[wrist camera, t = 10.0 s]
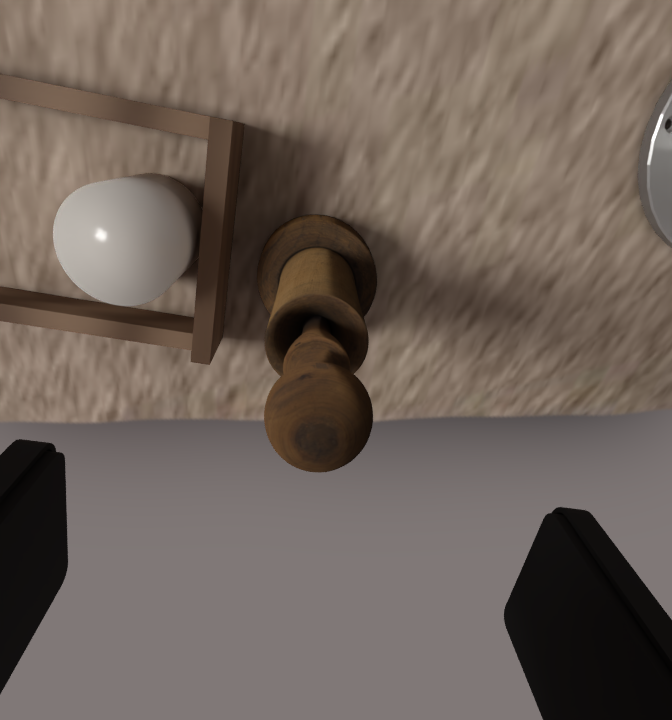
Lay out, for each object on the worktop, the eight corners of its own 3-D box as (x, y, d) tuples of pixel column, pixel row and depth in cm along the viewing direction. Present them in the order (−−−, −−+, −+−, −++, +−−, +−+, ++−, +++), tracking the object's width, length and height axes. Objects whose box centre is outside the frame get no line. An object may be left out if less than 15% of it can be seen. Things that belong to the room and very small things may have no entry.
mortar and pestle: (239, 286, 29) (140, 473, 13) (299, 189, 27) (273, 264, 11) (332, 344, 31) (351, 576, 14) (396, 258, 29) (502, 412, 12)
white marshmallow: (211, 184, 27) (184, 195, 22) (202, 282, 29) (176, 314, 24) (105, 164, 26) (50, 169, 21) (105, 265, 29) (55, 295, 23)
